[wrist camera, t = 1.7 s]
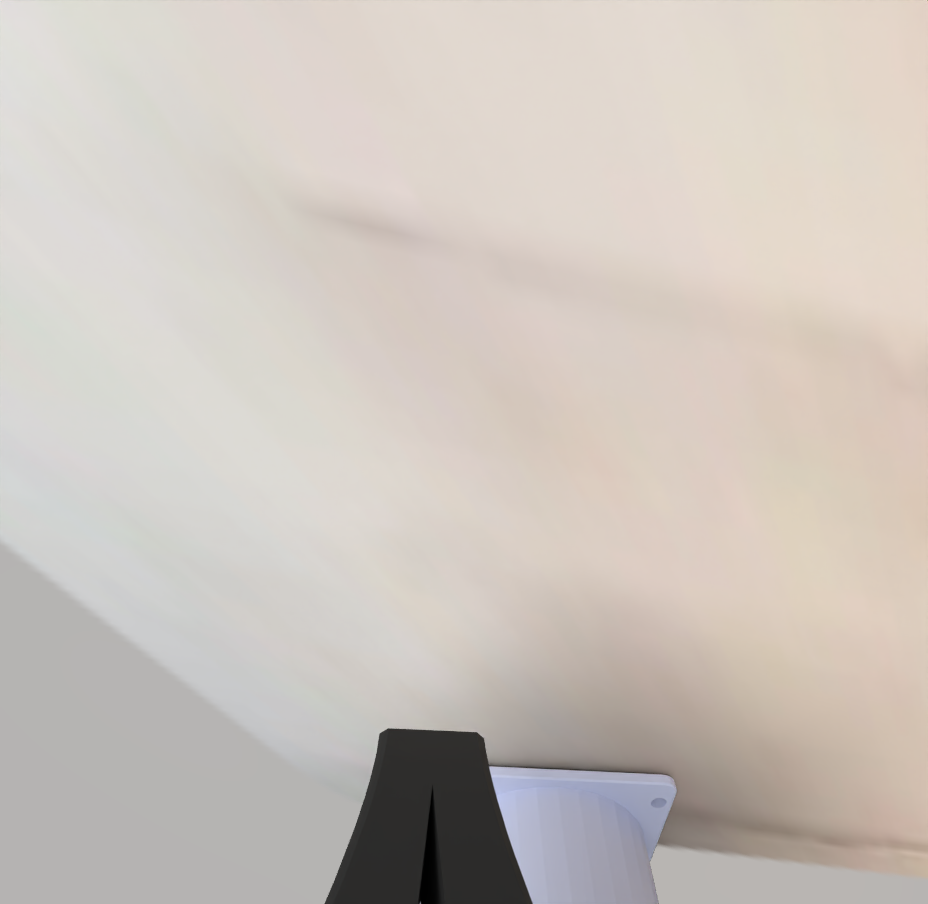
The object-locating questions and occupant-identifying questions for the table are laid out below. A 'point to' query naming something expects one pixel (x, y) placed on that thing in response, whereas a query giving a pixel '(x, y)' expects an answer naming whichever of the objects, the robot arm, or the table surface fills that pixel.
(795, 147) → the table surface
